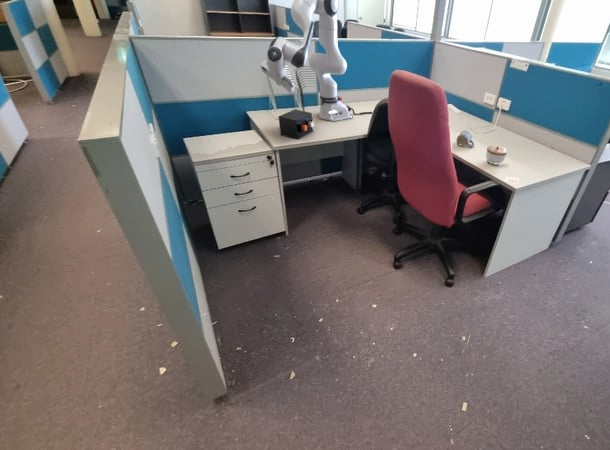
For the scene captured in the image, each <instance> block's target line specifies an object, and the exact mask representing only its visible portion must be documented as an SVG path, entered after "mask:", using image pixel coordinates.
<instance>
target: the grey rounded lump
mask: <svg viewBox="0 0 610 450" xmlns="http://www.w3.org/2000/svg"><path fill="white" fill-rule="evenodd" d="M472 139H473V134H472V132H470V131H469V130H463V131H461V132H460V133H459V134H458V136H457V137H456V143H457V145H459V144H461V145H459V146H460V147H464V146H463V145H465V146H467V147H468V148H474V146H475V142H474V141H473V140H472ZM471 143H472V144H471Z"/></svg>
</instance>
